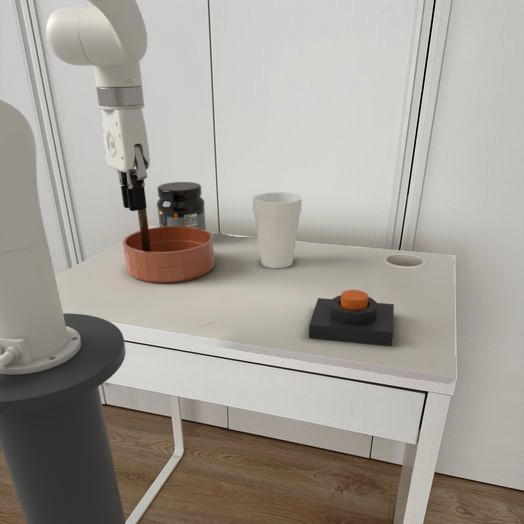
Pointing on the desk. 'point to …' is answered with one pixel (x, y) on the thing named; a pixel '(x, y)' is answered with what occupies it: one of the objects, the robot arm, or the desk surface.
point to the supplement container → (181, 205)
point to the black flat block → (352, 322)
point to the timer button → (354, 299)
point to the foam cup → (277, 226)
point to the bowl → (170, 254)
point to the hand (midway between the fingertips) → (135, 207)
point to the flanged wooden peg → (144, 230)
